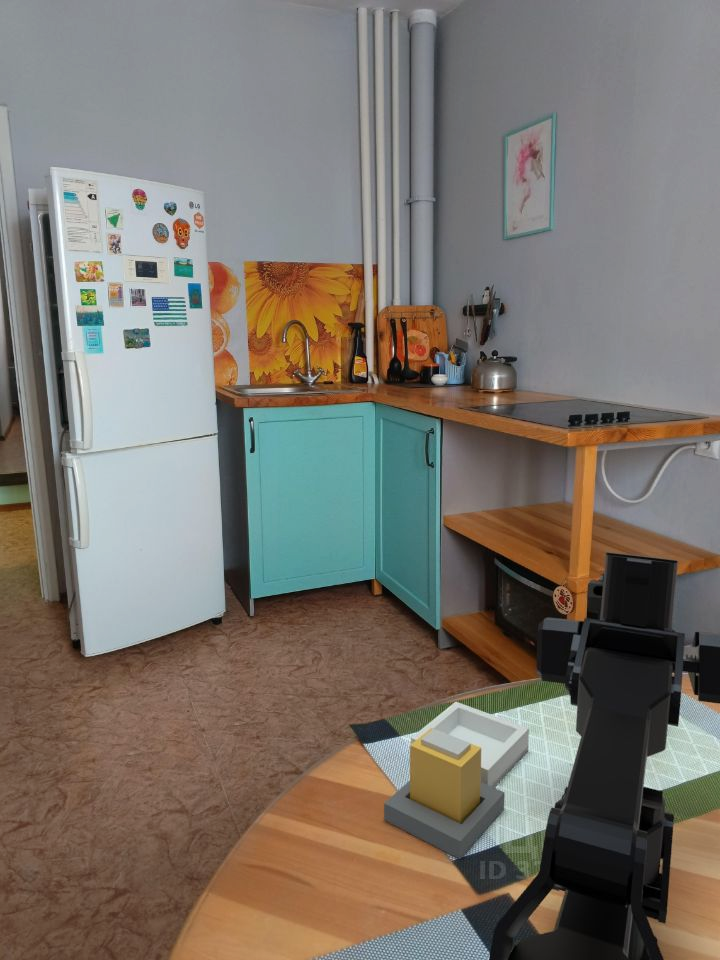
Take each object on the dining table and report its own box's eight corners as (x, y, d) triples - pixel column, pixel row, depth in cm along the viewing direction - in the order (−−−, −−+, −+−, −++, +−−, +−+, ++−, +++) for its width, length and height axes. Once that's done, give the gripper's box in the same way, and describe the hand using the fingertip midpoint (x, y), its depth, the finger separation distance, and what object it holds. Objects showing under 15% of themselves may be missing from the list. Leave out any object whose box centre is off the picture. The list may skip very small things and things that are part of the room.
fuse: (459, 838, 71) (461, 761, 69) (409, 813, 75) (410, 740, 73) (479, 816, 74) (481, 742, 72) (430, 793, 78) (431, 722, 76)
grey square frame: (460, 859, 68) (460, 841, 68) (384, 820, 74) (384, 803, 73) (503, 809, 75) (504, 792, 75) (431, 776, 81) (431, 760, 80)
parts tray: (487, 794, 77) (488, 770, 77) (410, 760, 83) (411, 737, 83) (528, 750, 85) (529, 728, 84) (455, 722, 91) (455, 701, 90)
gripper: (754, 587, 60) (739, 578, 74) (528, 571, 67) (554, 566, 81) (752, 723, 59) (737, 688, 73) (524, 692, 66) (551, 666, 81)
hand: (640, 647), depth 77 cm, fingers open, 9 cm apart
